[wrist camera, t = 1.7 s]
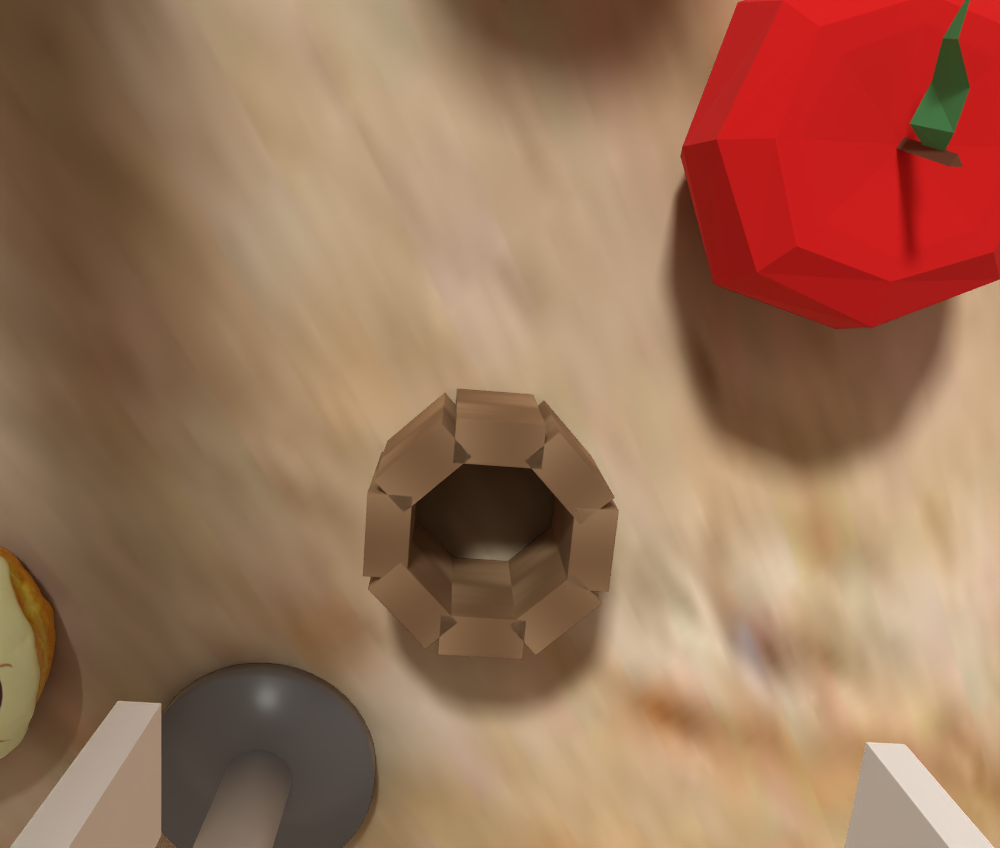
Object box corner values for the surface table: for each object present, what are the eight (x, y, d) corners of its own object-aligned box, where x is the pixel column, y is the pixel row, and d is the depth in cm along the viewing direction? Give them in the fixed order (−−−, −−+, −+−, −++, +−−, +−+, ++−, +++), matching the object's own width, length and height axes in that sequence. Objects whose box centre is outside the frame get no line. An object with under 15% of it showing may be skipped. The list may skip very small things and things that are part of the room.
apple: (925, 317, 31) (1134, 360, 22) (640, 310, 31) (722, 350, 21) (970, 5, 29) (1228, -106, 19) (661, -8, 28) (766, -130, 19)
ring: (386, 383, 31) (372, 412, 26) (602, 399, 31) (628, 432, 27) (374, 586, 33) (358, 649, 28) (579, 599, 33) (599, 663, 28)
